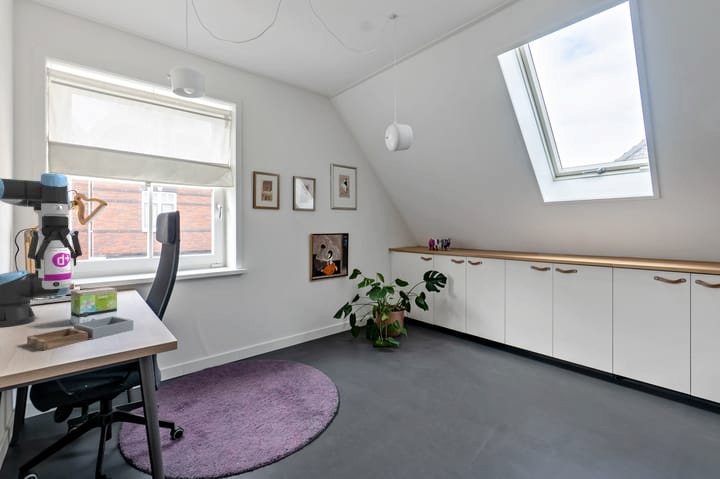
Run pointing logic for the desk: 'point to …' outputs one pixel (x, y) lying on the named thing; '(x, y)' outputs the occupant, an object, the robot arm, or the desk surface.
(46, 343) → the tray
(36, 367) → the desk surface
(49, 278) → the supplement can
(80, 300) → the tea box
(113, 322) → the tray
